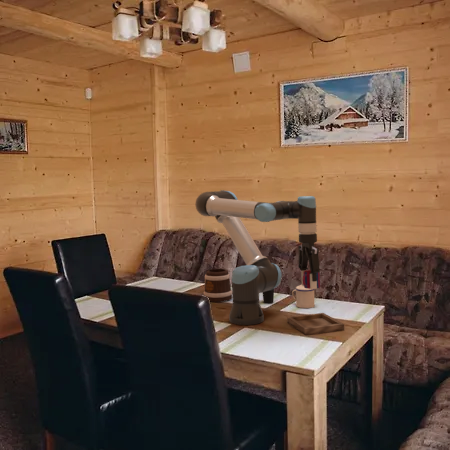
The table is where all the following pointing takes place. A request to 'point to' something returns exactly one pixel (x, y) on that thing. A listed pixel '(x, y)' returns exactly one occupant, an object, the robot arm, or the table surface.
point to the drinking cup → (268, 296)
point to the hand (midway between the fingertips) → (309, 287)
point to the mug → (217, 285)
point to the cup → (307, 279)
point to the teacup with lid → (304, 297)
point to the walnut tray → (315, 323)
